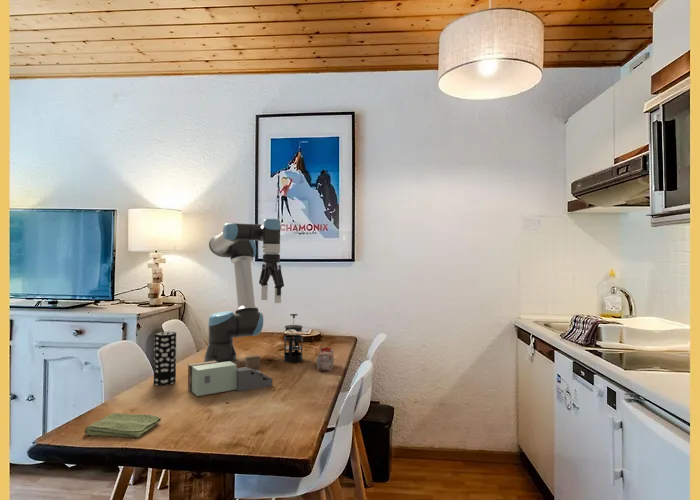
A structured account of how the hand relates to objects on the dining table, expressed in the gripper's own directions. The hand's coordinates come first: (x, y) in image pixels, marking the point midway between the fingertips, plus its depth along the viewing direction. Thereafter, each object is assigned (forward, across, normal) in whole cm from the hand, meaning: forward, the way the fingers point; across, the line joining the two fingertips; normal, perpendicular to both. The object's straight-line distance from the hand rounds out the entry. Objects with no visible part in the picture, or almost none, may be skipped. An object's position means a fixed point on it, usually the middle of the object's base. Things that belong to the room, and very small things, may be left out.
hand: (270, 301), depth 199 cm
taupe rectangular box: (+32, +6, -23) cm, 40 cm away
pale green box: (+32, +12, -29) cm, 45 cm away
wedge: (+32, +15, -14) cm, 38 cm away
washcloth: (+32, +33, -64) cm, 78 cm away
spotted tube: (+32, -10, -42) cm, 54 cm away
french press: (+32, -15, +20) cm, 41 cm away
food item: (+32, +7, +25) cm, 41 cm away
